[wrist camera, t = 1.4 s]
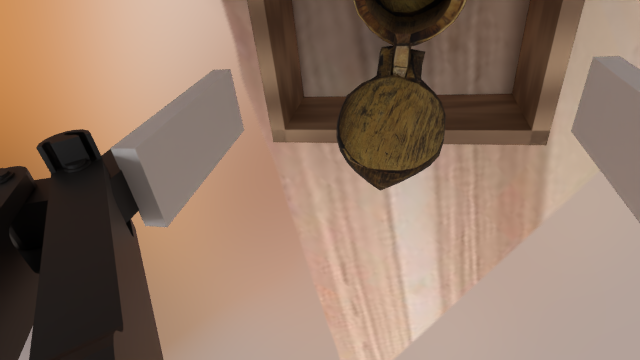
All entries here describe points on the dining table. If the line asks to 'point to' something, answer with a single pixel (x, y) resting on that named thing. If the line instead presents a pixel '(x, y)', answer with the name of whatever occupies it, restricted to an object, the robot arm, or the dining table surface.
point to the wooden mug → (396, 94)
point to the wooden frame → (461, 110)
